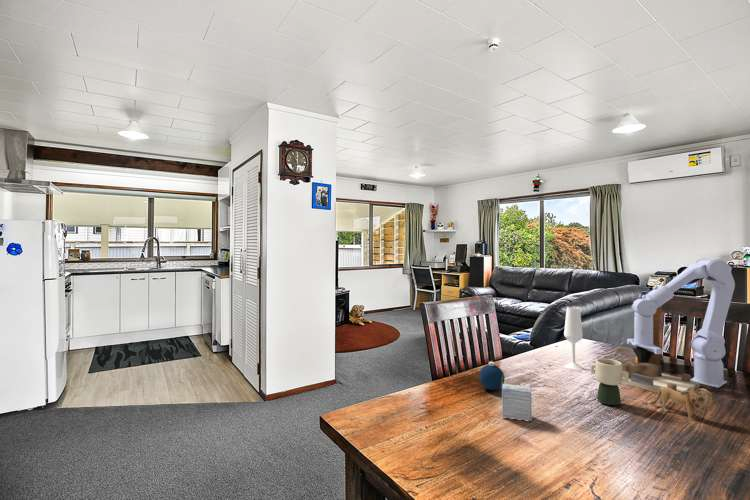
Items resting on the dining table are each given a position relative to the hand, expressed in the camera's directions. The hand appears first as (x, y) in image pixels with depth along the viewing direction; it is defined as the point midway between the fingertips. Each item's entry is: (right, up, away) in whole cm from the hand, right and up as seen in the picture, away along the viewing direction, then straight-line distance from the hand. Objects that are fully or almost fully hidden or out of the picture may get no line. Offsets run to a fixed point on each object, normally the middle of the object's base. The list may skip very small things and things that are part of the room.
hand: (643, 368), depth 138 cm
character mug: (-27, -4, -22) cm, 35 cm away
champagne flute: (-19, -4, +12) cm, 23 cm away
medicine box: (-59, -5, -31) cm, 67 cm away
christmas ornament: (-60, -4, -10) cm, 61 cm away
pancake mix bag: (+13, -4, +14) cm, 20 cm away
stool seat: (-1, -4, -5) cm, 6 cm away
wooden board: (-3, -2, -3) cm, 4 cm away
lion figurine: (-11, -4, -30) cm, 32 cm away
